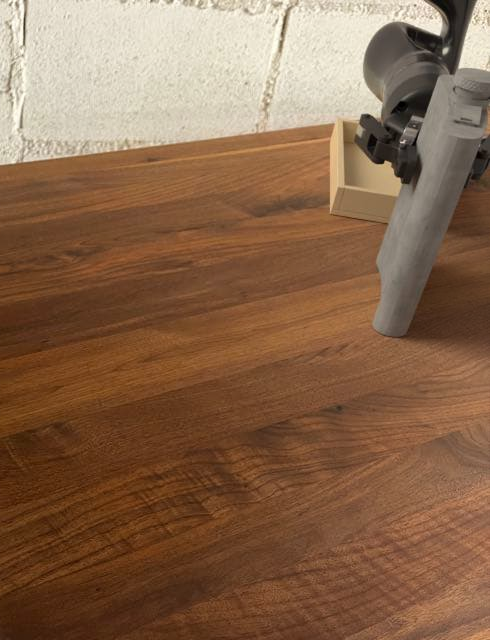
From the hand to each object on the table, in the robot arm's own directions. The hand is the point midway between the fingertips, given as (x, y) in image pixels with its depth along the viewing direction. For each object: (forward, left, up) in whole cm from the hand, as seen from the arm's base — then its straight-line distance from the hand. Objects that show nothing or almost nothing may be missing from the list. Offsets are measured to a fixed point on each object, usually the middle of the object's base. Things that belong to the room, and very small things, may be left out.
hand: (434, 177), depth 79 cm
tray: (0, -26, -11) cm, 28 cm away
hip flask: (0, +1, -11) cm, 11 cm away
